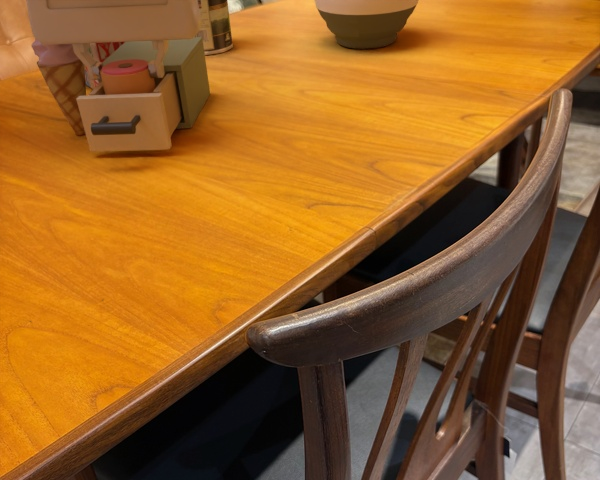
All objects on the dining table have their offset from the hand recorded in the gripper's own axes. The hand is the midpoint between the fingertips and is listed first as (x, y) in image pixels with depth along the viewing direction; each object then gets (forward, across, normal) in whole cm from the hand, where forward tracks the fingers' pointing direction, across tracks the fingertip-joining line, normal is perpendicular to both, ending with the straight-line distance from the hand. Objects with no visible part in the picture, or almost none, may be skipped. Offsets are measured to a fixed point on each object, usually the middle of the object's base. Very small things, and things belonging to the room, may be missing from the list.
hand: (128, 77), depth 78 cm
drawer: (+7, 0, -1) cm, 8 cm away
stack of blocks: (+9, -14, +27) cm, 31 cm away
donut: (+2, 0, 0) cm, 2 cm away
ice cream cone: (+9, -10, +4) cm, 14 cm away
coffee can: (+9, 0, +47) cm, 47 cm away
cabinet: (+8, 0, +12) cm, 14 cm away
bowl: (+8, +31, +47) cm, 57 cm away
